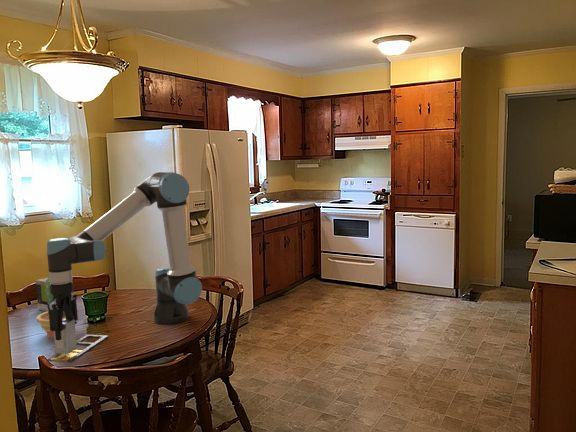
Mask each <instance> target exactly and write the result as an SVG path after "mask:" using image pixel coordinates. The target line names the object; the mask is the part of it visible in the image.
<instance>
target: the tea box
mask: <svg viewBox="0 0 576 432" xmlns="http://www.w3.org/2000/svg"><path fill="white" fill-rule="evenodd" d="M47 279H48V277H44V278H40V279H39V278H38V279H36V280H35V287H36V300H37V310H39V311H43V312H48V307H47V305H48V299H47V296H46V292H45V282H46V280H47ZM71 281H72V282H73V280H71ZM73 283H74V282H73ZM71 294H74V291H73V292H71Z"/></svg>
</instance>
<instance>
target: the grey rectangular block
mask: <svg viewBox="0 0 576 432" xmlns="http://www.w3.org/2000/svg"><path fill="white" fill-rule="evenodd" d="M58 328H59V327H58ZM62 330H64V342H65V348H64V349H63V348H57V344H56V338H55V331H54V337H53V338H54V350H55V354H56V353H62V354H69V353H70V352H72V351H73V350H78V349H77V345H76V341H77V335H76V324H75V319H63V322H62Z"/></svg>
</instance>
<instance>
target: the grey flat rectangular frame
mask: <svg viewBox="0 0 576 432" xmlns="http://www.w3.org/2000/svg"><path fill="white" fill-rule="evenodd" d="M88 338H99V339H97V340H96V341H94V342H87V341H85V340H86V339H88ZM107 338H109V335H104V334H85V335H84V336H82V337H80V338H78V339H76V346H77V345H84V346H86V345H87V346H86V347H85V348H84V349H82V350H81V349H75V350H73V351H72V352H70V353H69V354H62V353H56V352H55V353H54V354H53V355H51V356H49V357H48V358H47V359H48V360H47V361H50V362H52V361H53V362H65V363H67V362H68V363H69V362H70V363H72V362H74V361H75V360H77V359H78V358H80V357H81V356H83V355H84V354H85V353H87V352H89V350H91V349H93V348H95V347H96V346H98V345H99V344H100V343H102V342H103V341H104V340H106V339H107ZM84 341H85V342H84Z"/></svg>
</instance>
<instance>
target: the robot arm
mask: <svg viewBox="0 0 576 432" xmlns="http://www.w3.org/2000/svg"><path fill="white" fill-rule="evenodd" d="M189 194H190V183H189V182H188V180H187V179H186V178H185V177H184V176H183V175H182V174H179V173H177V172H171V171H170V172H167V171H165V172H162V171H160V172H155V173H153V174H151V175H149V176H148V177H147V178H146V179H144V180H142V182H141V183H139V184H138V185H137V186H135V187H134V188H133V192H132V193H131V194H129V195H128V196H127V197H125V198H124V199H123V200H122V201H120V202H119V203H118V204H116V205H114V206H113V207H112V208H111V209H110V210H109V211H108V212H106V213H105V214H103V215H102V216H101V217H100V218H98V219H97V220H95V222H93V223H92V224H90V225H89V226H88V227H86V228H85V229H84V230H82V231H81V232H80V233H79V234H77V235H74V236H71V237H69V238H67V237H57V238H51V239H48V241H46V256H47V266H48V267H47V268H48V277H49V282H50V283H51V284H50V293H51V294H52V295H53V302H52V303H51V304H48V305H47V307H48V310H49V321H50V331H55V338H56V344H57V348H63V349H64V348H65V342H64V330H62V322H63V312H64V313H65V317H66V319H75V325H77V324H78V323H77V321H78V317H79V315H78V312H77V311H78V308H77V307H78V305H77V297H78V296H77V295H78V294H77V293H74V282H72V281H73V279H74V277H73V268H72V267H73V266H72V265H74V264H82V263H88V262H91V263H92V262H97V261H102V260H104V259H105V258H106V256H107V247H106V243H105V242H104V240H105V239H106V238H107V237H109V236H110V235H111V234H113V233H114V232H115V231H117V230H118V229H119V228H120V227H122V226H123V225H124V224H125V223H126V222H128V221H130V219H132V218H133V217H134V216H136V215H137V214H138V213H139V212H141V210H143V209H144V208H146V207H150V206H152V205H153V204H155V203H156V207H157V209H158V210H160V211H161V213H162V222H163V228H164V235H165V242H166V248H167V257H168V264H169V266H165V267H161V268H157V269H156V270H155V274H154V275H155V276H154V280H155V292H156V294H155V296H156V305H155V308H154V312H153V322H154V323H156V324H160V325H161V324H162V325H172V324H177V323H178V324H179V323H182V322H185V321H186V320H189V317H190V313H189V310H188V306H187V305H191V304H193V303H196V301H197V300H199V297H200V296H201V295H202V291H203V284H202V282H201V281H200V279H199V278H197V272H196V271H197V270H196V268H195V267H194V266H193V265H192V263H191V256H190V249H189V248H190V246H189V242H188V241H189V240H188V239H189V238H188V233H187V231H188V230H187V225H186V218H185V208H186V206H187V205H188V203H187V201H188V200H187V198H188V196H189ZM71 280H72V281H71ZM71 292H73V294H71ZM58 327H59V328H58Z"/></svg>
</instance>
